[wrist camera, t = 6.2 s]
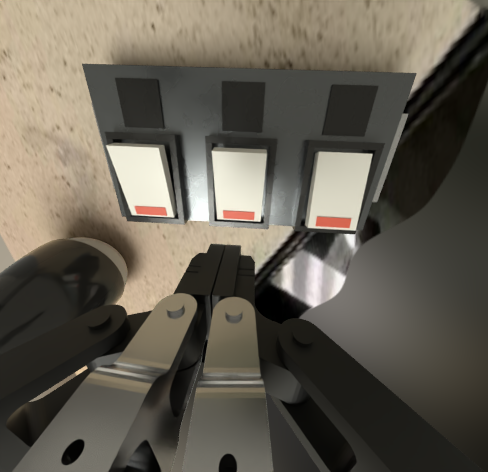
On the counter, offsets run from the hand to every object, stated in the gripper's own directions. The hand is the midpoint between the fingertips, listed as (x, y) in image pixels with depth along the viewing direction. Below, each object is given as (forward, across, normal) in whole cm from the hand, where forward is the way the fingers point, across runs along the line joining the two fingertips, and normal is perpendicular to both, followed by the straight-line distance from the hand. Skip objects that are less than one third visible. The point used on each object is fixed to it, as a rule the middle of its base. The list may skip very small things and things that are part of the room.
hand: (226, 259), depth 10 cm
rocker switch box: (+13, 0, -4) cm, 14 cm away
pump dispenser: (+13, +19, +10) cm, 25 cm away
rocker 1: (+8, +8, -2) cm, 11 cm away
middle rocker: (+8, 0, -2) cm, 8 cm away
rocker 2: (+8, -8, -2) cm, 11 cm away
